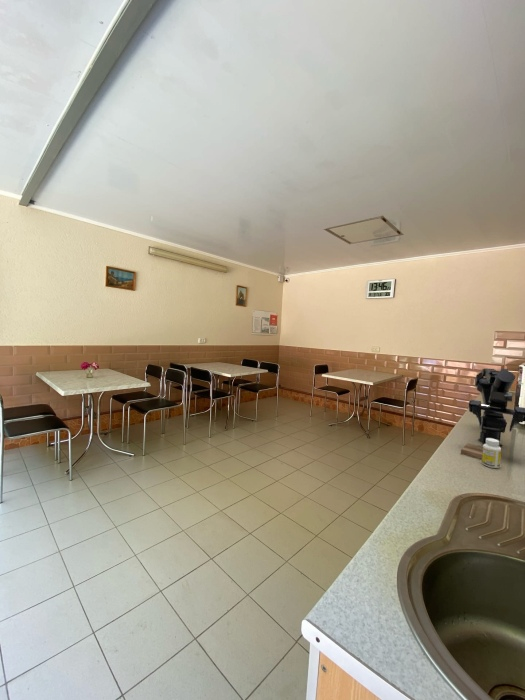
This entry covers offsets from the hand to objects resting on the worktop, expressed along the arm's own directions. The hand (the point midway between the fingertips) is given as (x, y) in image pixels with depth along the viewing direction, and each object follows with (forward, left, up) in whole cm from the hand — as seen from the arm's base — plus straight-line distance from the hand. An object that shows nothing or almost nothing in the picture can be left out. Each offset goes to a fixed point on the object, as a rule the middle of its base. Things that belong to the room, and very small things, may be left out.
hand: (494, 428), depth 116 cm
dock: (+3, -5, -13) cm, 14 cm away
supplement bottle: (+4, +6, -13) cm, 15 cm away
